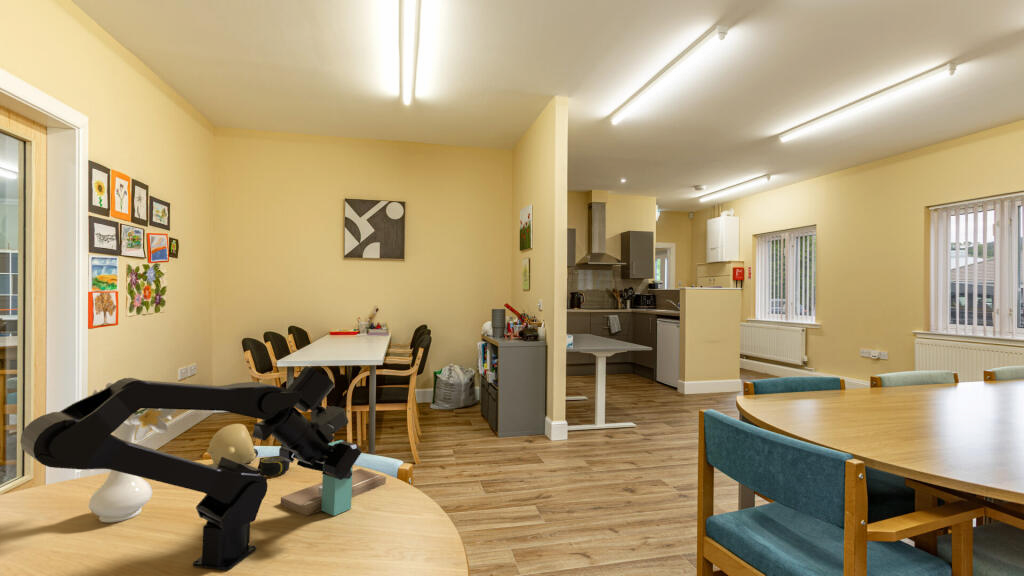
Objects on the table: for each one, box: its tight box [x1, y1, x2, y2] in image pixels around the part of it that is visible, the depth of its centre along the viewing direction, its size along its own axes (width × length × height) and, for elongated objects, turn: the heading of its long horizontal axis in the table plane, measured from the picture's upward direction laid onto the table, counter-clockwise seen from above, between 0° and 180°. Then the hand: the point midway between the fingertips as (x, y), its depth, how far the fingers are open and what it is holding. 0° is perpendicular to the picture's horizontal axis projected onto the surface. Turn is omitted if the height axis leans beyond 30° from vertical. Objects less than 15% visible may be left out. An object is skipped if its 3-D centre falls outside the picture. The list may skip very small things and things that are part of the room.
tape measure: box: [257, 455, 291, 477], centre depth 111 cm, size 7×7×4 cm
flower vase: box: [88, 382, 177, 524], centre depth 88 cm, size 13×18×25 cm
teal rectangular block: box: [318, 439, 354, 516], centre depth 93 cm, size 4×7×13 cm, turn 57°
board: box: [280, 468, 387, 517], centre depth 100 cm, size 20×9×2 cm, turn 147°
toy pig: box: [206, 423, 259, 465], centre depth 115 cm, size 10×12×11 cm
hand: (343, 474), depth 93 cm, fingers closed on teal rectangular block, 4 cm apart
